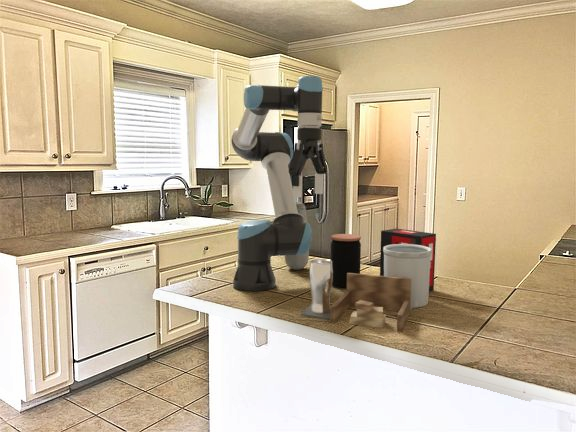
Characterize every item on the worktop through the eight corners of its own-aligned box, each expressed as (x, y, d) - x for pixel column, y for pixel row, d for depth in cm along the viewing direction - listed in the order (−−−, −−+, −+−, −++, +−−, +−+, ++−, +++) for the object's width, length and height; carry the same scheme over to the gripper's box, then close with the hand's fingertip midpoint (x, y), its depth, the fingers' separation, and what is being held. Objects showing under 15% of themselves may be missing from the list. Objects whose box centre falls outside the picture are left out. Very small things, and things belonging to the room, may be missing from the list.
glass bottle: (283, 266, 200) (283, 200, 197) (307, 266, 201) (307, 200, 198) (285, 272, 190) (285, 203, 187) (310, 271, 191) (311, 202, 188)
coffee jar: (359, 281, 176) (360, 234, 173) (360, 289, 165) (361, 238, 163) (330, 281, 177) (331, 233, 174) (330, 288, 166) (330, 238, 164)
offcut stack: (349, 323, 131) (350, 303, 130) (354, 318, 135) (354, 298, 135) (382, 328, 127) (383, 307, 127) (385, 322, 132) (386, 301, 132)
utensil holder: (403, 311, 141) (405, 254, 139) (372, 298, 155) (373, 245, 152) (439, 304, 148) (442, 249, 146) (407, 292, 161) (408, 242, 159)
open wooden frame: (330, 322, 132) (331, 287, 130) (347, 303, 149) (347, 272, 148) (401, 332, 125) (402, 295, 123) (410, 311, 142) (411, 278, 141)
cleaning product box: (433, 290, 164) (435, 233, 162) (418, 295, 159) (421, 236, 156) (394, 281, 177) (396, 228, 175) (379, 285, 171) (381, 230, 169)
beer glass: (334, 308, 142) (335, 259, 140) (329, 316, 135) (329, 264, 133) (312, 306, 144) (312, 258, 142) (305, 313, 138) (306, 262, 136)
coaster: (300, 315, 137) (300, 313, 137) (310, 306, 146) (310, 304, 146) (330, 319, 134) (330, 317, 134) (338, 310, 142) (338, 308, 142)
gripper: (299, 125, 135) (298, 199, 138) (338, 129, 156) (336, 193, 159) (277, 126, 139) (276, 197, 142) (318, 129, 160) (317, 191, 163)
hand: (308, 195), depth 151 cm, fingers open, 13 cm apart
